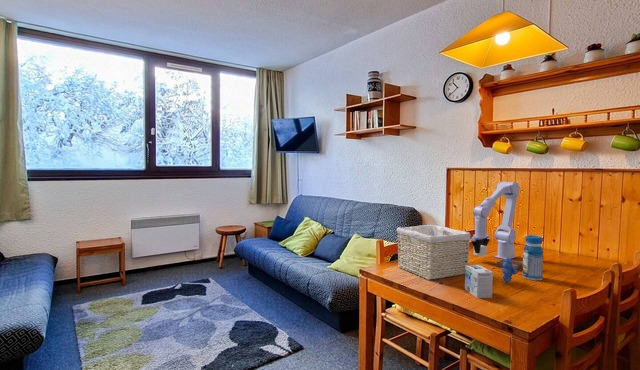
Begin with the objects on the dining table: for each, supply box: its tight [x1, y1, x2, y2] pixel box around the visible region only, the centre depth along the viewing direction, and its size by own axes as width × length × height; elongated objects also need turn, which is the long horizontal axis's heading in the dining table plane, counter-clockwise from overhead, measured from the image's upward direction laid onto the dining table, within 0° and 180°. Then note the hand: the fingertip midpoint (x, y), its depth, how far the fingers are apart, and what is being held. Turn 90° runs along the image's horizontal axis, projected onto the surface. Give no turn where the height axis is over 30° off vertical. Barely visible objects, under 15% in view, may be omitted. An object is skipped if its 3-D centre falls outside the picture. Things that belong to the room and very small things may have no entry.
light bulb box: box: [464, 264, 494, 299], centre depth 148 cm, size 11×7×11 cm, turn 5°
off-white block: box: [472, 245, 488, 257], centre depth 196 cm, size 5×5×5 cm
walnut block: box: [495, 259, 523, 272], centre depth 186 cm, size 10×10×3 cm
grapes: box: [501, 258, 519, 284], centre depth 160 cm, size 12×7×12 cm, turn 144°
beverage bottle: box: [522, 234, 544, 281], centre depth 168 cm, size 8×8×20 cm
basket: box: [396, 224, 471, 281], centre depth 180 cm, size 27×27×22 cm
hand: (480, 252), depth 196 cm, fingers closed on off-white block, 5 cm apart
